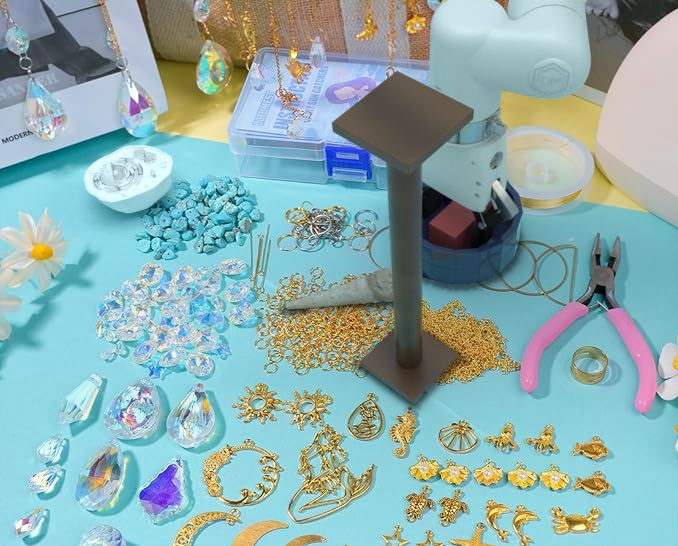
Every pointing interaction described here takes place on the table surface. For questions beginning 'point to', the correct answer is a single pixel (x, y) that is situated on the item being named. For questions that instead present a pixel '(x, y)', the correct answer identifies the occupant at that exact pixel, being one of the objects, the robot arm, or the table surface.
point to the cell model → (130, 178)
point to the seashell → (351, 292)
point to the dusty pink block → (452, 227)
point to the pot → (472, 250)
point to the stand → (405, 216)
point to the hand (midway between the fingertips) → (455, 226)
